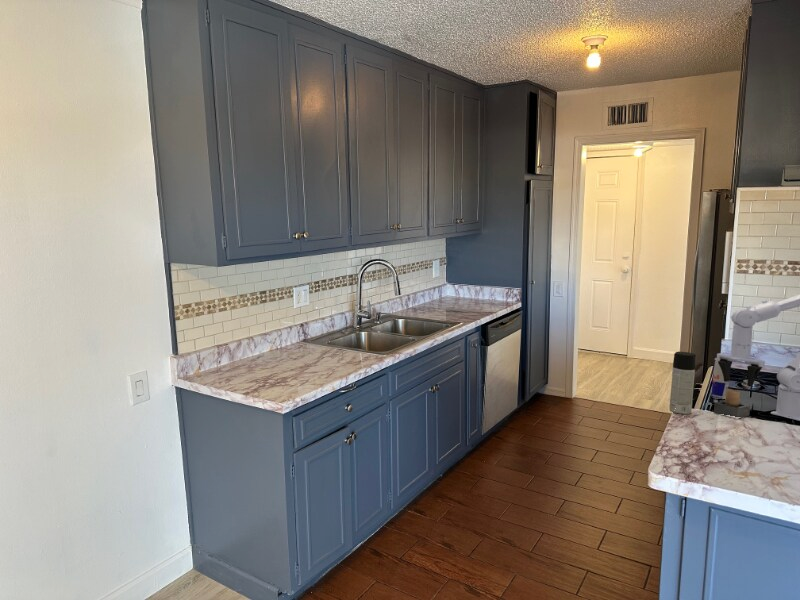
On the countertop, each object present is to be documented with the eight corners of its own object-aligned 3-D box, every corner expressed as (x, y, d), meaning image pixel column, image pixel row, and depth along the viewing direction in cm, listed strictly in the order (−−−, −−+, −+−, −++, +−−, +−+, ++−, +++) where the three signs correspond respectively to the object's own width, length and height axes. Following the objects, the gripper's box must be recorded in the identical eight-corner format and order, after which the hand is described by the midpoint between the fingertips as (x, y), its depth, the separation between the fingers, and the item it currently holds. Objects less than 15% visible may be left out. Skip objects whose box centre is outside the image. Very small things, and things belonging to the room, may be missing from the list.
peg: (740, 415, 186) (742, 391, 185) (734, 416, 184) (736, 393, 183) (728, 412, 189) (730, 389, 188) (721, 413, 187) (723, 390, 186)
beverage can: (712, 396, 210) (716, 356, 208) (728, 398, 207) (731, 359, 205) (709, 398, 206) (713, 358, 205) (725, 401, 203) (729, 360, 201)
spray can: (693, 412, 188) (698, 353, 186) (687, 416, 183) (692, 355, 181) (672, 407, 192) (677, 350, 191) (666, 411, 187) (670, 352, 186)
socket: (749, 416, 185) (750, 405, 185) (737, 419, 181) (738, 408, 181) (725, 410, 191) (726, 400, 191) (713, 412, 187) (714, 402, 187)
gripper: (713, 341, 193) (710, 380, 194) (758, 348, 181) (755, 389, 182) (723, 340, 197) (720, 378, 198) (769, 347, 185) (765, 387, 186)
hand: (738, 383), depth 190 cm, fingers open, 7 cm apart
